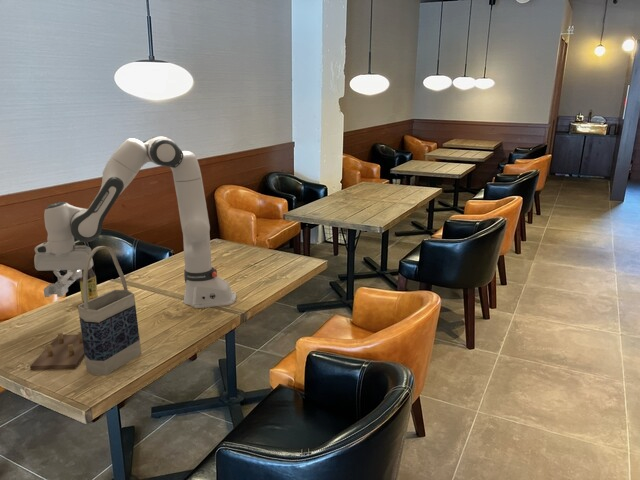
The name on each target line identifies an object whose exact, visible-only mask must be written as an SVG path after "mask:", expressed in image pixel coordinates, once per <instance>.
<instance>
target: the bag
mask: <svg viewBox="0 0 640 480" xmlns="http://www.w3.org/2000/svg"><path fill="white" fill-rule="evenodd" d="M102 249H105V250H107V251H109V254H110V256H111V258H112V262H113V264H114V266H115V268H116V270H117V273H118V275H119V278H120V281H121V285H122V288H123V289H112V290H111V291H108V292H105V293H104V294H101V295H99V296H98V297H96V298H94V299H92V300H90V301H88V292H87V276H88V268H89V264H90V261H91V258H92V259H93V257H94V255H95V253H96V252H97V251H100V250H102ZM83 298H84V303H83V302H82V303H81V304H78V305H77V308H78V317H79V323H80V332H81V333H82V341H83V348H84V356H85V357H84V362H85V369H86V371H87V372H89V374H90V375H91V376H108V375H109V374H111V373H113V372H115V371H116V370H117V369H119V368H120V367H121V368H122V366H124V365H126V364H128V363H129V362H130V361H132V360H134V359H135V358H137V357H138V356H141V355H142V348H141V341H140V332H139V323H138V315H137V307H136V306H137V305H136V300H135V299H136V298H135V293H134V292H132V291H130V290H129V289H128V285H127V281H126V278H125V274H124V273H123V271H122V268H121V266H120V263H119V261H118V258H117V255H116V252H115V251H114V249H112V248H111V247H110V246H105V245H101V246H99V245H98V246H96V247H94V248H93V249H91V252H90V254H89V255H88V257H87V259H86V262H85V266H84V272H83Z"/></svg>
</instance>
